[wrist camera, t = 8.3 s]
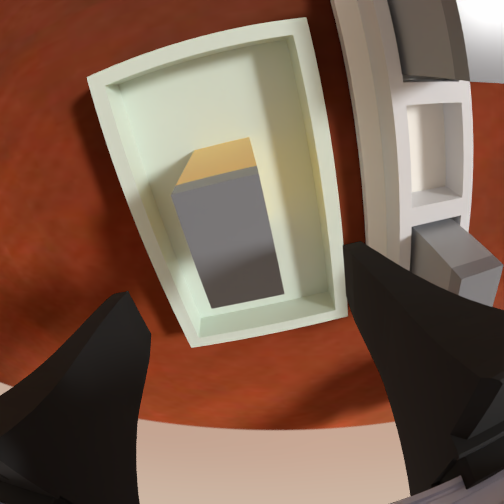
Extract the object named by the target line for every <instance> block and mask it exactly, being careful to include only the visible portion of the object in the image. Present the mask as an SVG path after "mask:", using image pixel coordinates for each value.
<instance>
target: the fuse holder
mask: <svg viewBox="0 0 504 504" xmlns="http://www.w3.org/2000/svg"><path fill="white" fill-rule="evenodd" d="M330 2H331V5H332V9H333V13H334V17H335V22H336V26H337V30H338V34H339V39H340V43H341V48H342V53H343V58H344V63H345V68H346V73H347V79H348V84H349V90H350V96H351V102H352V108H353V115H354V122H355V129H356V137H357V144H358V153H359V162H360V171H361V182H362V193H363V206H364V220H365V238H366V245H368V246H369V247H371V248H372V249H374V250H376V251H377V252H379V253H380V254H382V255H384V256H385V257H387V258H388V259H390V260H392V261H393V262H395V263H397V264H398V265H400V266H402V267H403V268H405V269H407V270H408V271H410V255H411V229H412V227H413V226H417V225H421V224H426V223H430V222H434V221H439V220H443V219H447V218H452V219H453V220H454V221H455V222H456V223H458V224H459V225H460V226H461V227H462V228H463V229H465V230H466V231H467V232H468V230H469V221H470V210H471V198H472V180H473V120H472V103H471V90H470V81H463V80H456V79H448V78H439V77H429V76H418V75H403V74H402V71H401V65H400V59H399V53H398V48H397V43H396V38H395V33H394V28H393V23H392V19H391V15H390V10H389V6H388V2H387V0H330Z"/></svg>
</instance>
